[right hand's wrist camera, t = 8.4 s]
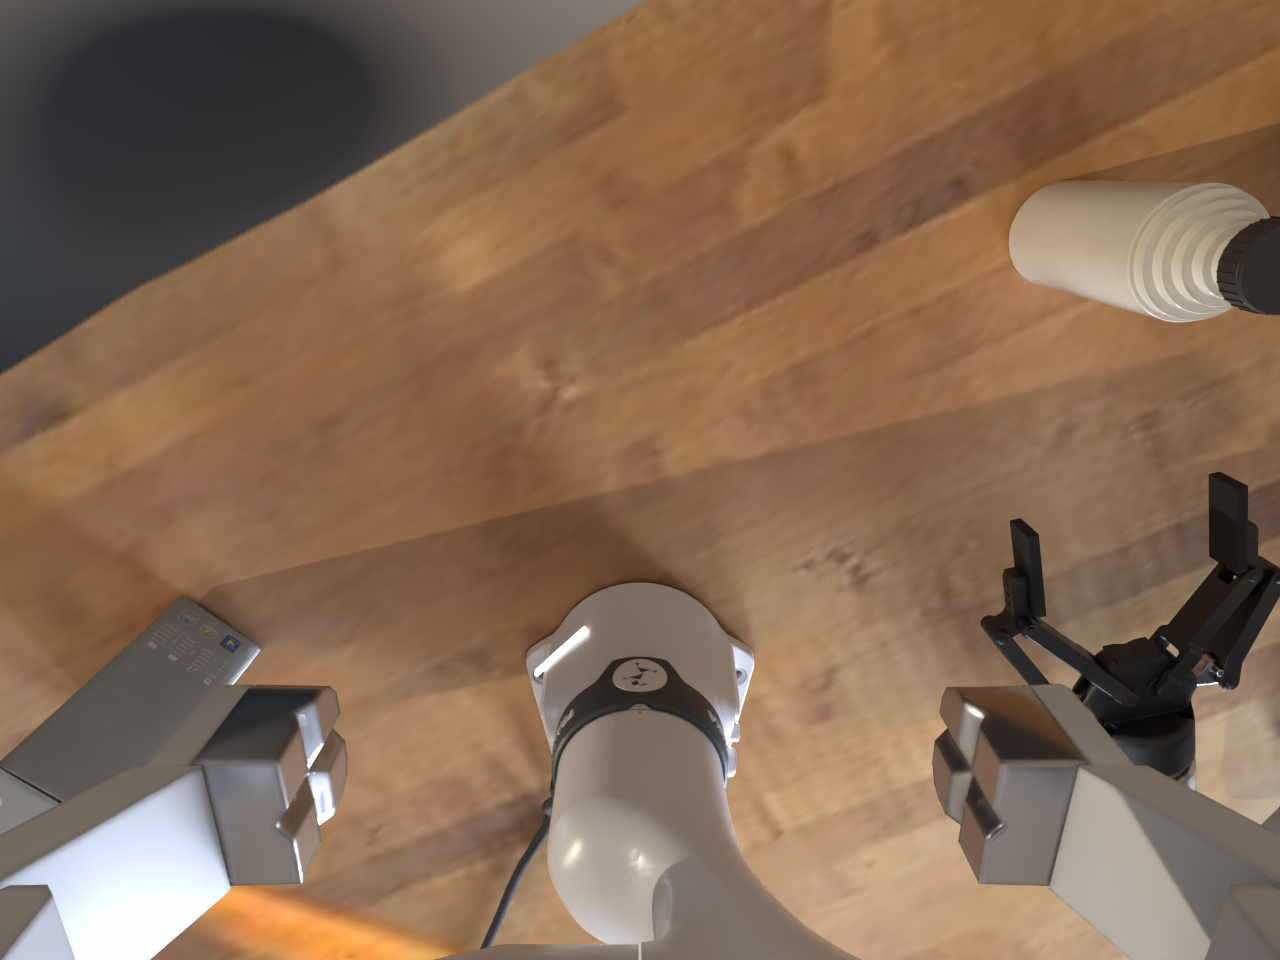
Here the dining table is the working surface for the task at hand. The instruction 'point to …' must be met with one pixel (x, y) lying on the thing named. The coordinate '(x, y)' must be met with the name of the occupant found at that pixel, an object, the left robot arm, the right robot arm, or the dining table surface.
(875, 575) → the dining table surface
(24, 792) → the hard drive box
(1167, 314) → the bottle
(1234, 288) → the cap
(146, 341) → the dining table surface
